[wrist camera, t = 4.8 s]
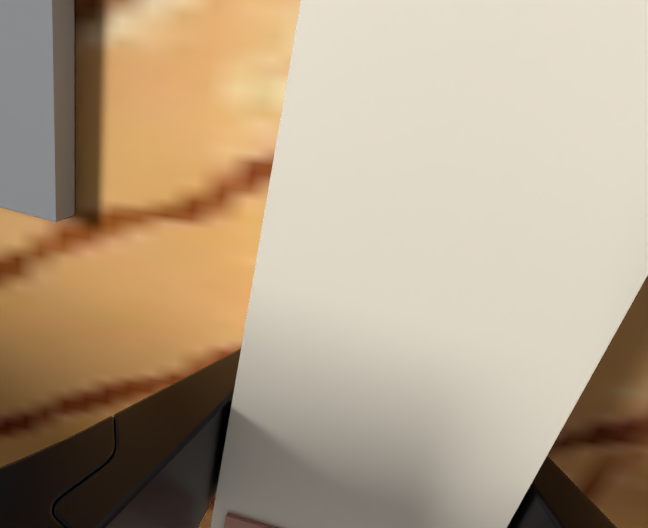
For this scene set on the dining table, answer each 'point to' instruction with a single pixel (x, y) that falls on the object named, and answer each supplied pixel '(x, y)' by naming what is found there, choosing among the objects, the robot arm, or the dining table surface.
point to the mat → (37, 108)
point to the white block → (436, 258)
